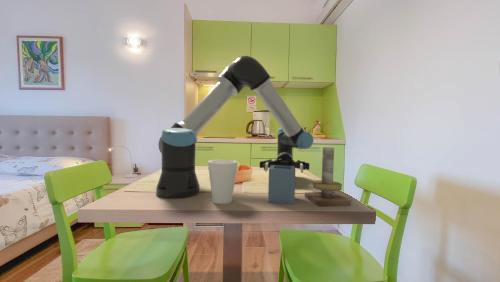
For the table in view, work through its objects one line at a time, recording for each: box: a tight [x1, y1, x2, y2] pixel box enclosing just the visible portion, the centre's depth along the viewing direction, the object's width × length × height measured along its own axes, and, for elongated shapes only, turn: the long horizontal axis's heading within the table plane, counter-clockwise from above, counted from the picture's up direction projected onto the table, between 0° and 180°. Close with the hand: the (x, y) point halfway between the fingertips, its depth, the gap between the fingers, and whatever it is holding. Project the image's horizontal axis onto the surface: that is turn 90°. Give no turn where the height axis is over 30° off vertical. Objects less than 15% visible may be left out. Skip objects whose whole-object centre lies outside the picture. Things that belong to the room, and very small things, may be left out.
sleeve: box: [267, 165, 296, 205], centre depth 81 cm, size 8×8×11 cm
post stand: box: [304, 146, 352, 207], centre depth 80 cm, size 11×11×18 cm
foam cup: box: [207, 159, 238, 205], centre depth 78 cm, size 10×9×13 cm
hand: (283, 168), depth 90 cm, fingers open, 13 cm apart
